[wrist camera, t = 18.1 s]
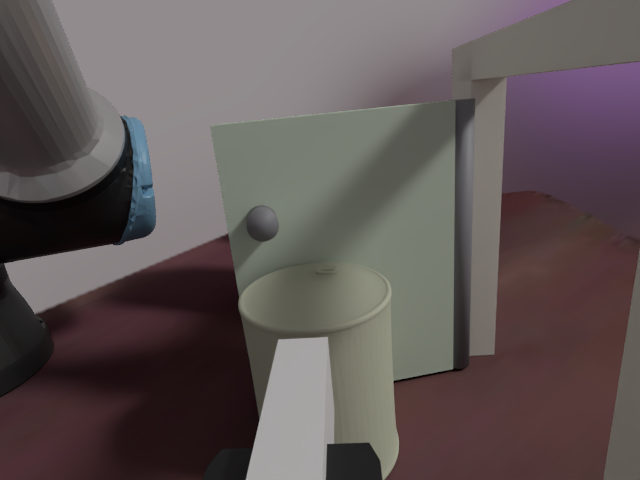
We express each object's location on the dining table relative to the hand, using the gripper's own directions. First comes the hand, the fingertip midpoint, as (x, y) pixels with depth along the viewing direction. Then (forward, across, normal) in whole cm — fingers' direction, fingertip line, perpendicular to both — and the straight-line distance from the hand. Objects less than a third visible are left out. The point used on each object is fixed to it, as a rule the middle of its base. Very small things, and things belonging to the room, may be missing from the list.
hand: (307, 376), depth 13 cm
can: (+12, -1, -15) cm, 19 cm away
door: (+18, +2, -14) cm, 23 cm away
